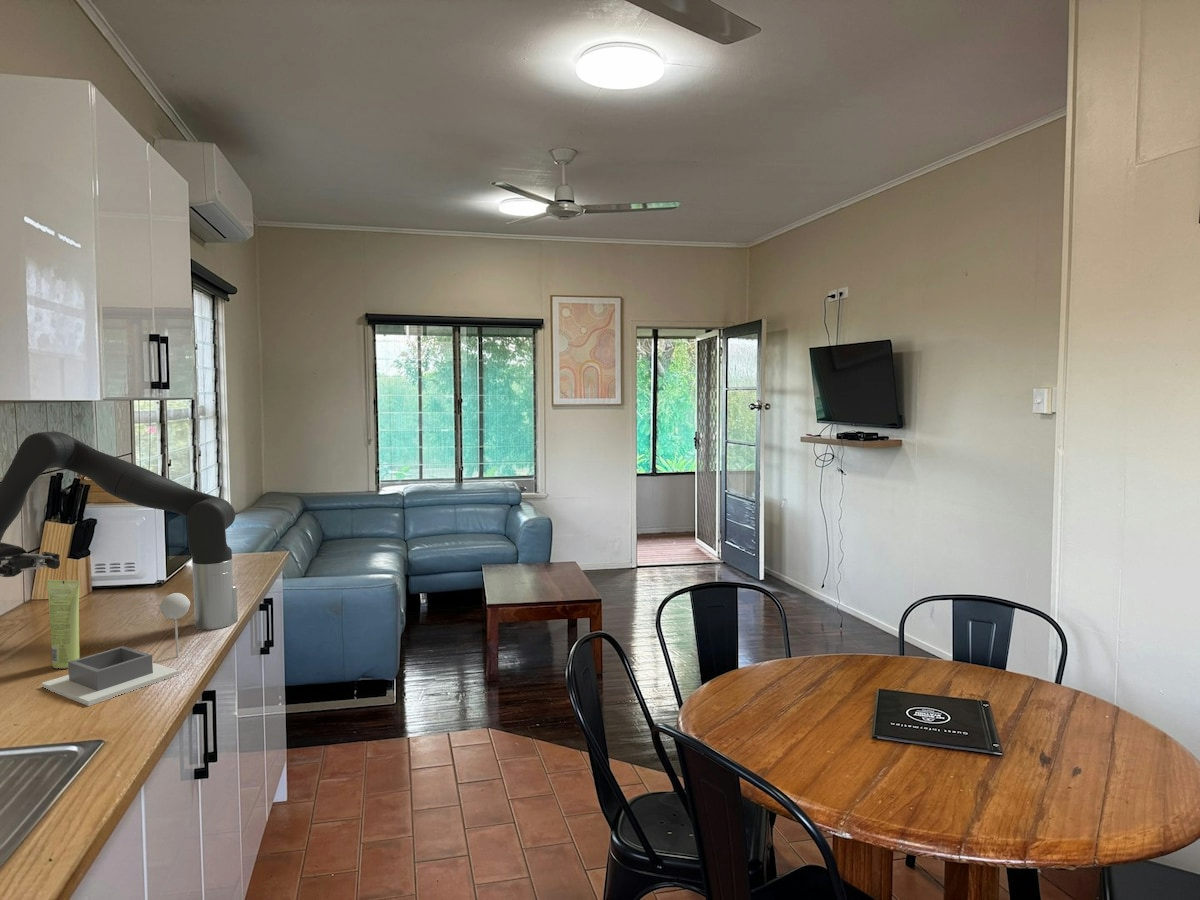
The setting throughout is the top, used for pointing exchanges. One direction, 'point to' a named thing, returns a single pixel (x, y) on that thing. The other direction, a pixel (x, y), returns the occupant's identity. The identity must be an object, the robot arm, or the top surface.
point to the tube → (64, 621)
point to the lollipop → (175, 609)
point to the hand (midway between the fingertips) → (36, 568)
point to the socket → (108, 675)
